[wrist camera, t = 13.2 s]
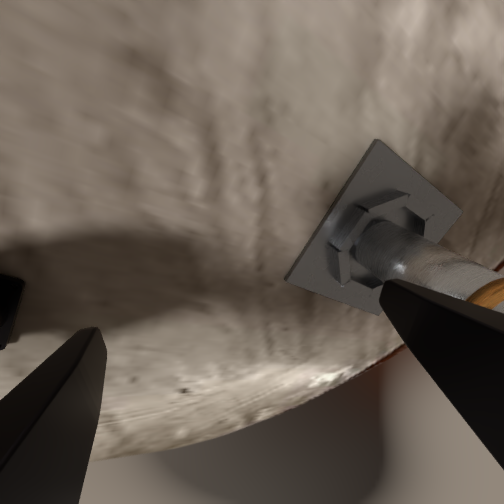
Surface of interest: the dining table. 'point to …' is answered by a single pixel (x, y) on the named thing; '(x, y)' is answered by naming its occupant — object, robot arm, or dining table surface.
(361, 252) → the grey cylindrical piece
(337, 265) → the flange
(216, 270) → the dining table surface
